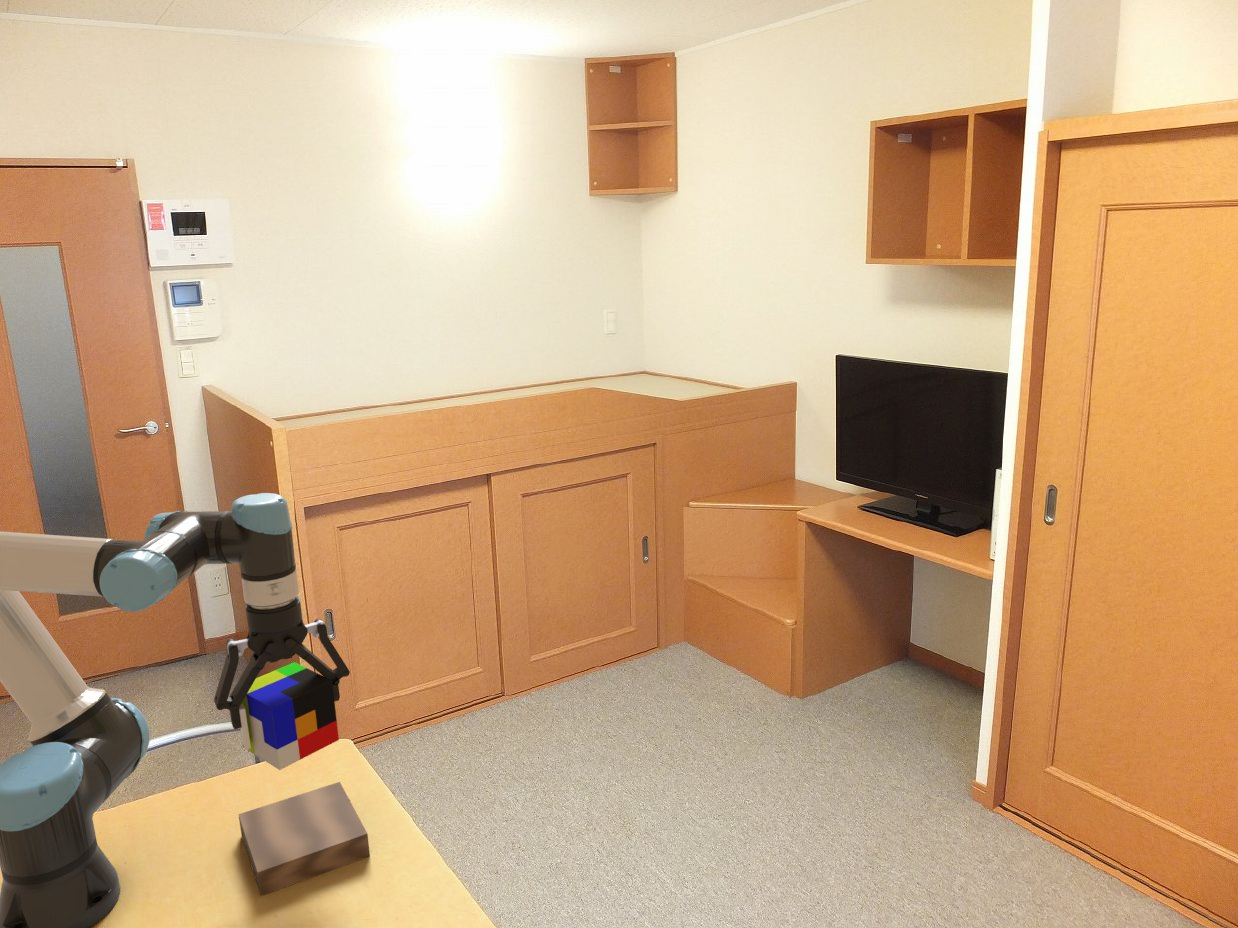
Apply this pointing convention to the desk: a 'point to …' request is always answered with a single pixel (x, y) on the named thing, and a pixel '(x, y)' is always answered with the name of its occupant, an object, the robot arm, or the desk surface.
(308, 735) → the puzzle toy
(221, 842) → the desk surface
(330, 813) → the walnut plinth
